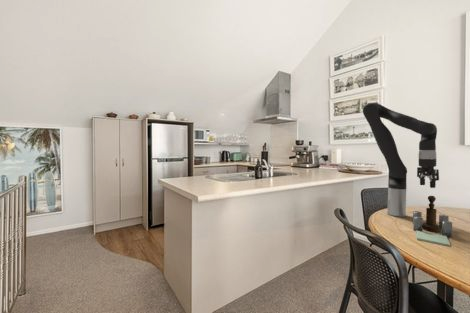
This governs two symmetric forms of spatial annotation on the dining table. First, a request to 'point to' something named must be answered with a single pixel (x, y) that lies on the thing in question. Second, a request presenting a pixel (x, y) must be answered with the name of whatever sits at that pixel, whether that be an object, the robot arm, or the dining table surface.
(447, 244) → the green mat
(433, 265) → the dining table surface
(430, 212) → the wooden pepper mill
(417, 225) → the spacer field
